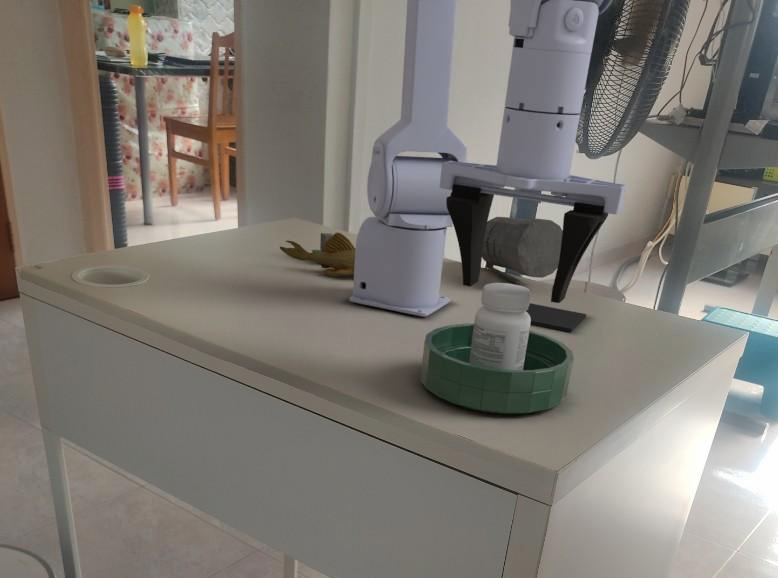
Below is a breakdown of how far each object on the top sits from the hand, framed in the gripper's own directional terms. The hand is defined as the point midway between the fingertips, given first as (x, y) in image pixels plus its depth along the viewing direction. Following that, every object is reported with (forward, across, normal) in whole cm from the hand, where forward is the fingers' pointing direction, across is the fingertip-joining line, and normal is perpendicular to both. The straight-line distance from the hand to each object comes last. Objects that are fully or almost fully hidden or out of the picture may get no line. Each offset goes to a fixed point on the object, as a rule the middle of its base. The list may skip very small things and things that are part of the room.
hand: (513, 291), depth 70 cm
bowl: (+9, 0, 0) cm, 9 cm away
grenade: (+4, -6, +35) cm, 36 cm away
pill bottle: (+8, 0, -1) cm, 8 cm away
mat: (+9, -2, +25) cm, 26 cm away
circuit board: (+7, -32, +36) cm, 49 cm away
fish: (+9, -31, +26) cm, 41 cm away
